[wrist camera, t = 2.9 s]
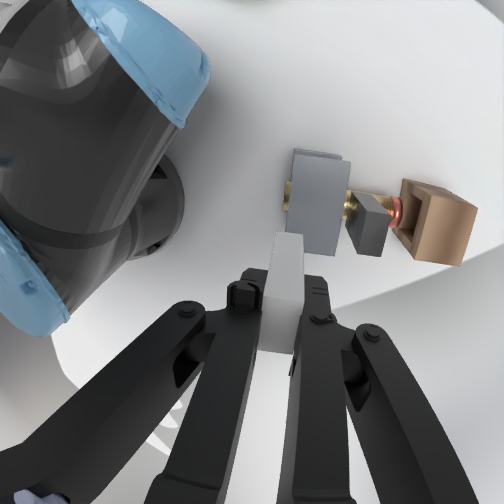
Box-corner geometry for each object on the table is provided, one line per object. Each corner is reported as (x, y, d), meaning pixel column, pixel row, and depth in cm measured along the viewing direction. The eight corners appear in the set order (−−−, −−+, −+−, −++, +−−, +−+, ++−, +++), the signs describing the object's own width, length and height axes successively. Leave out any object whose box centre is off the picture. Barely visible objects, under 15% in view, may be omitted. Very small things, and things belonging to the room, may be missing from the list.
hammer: (283, 207, 31) (277, 243, 22) (286, 175, 29) (282, 198, 20) (389, 223, 29) (420, 262, 21) (395, 193, 28) (432, 222, 19)
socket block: (392, 230, 32) (414, 259, 25) (403, 178, 29) (431, 195, 22) (432, 237, 31) (459, 266, 24) (444, 188, 29) (477, 207, 21)
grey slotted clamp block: (285, 225, 34) (283, 249, 28) (294, 148, 30) (294, 154, 24) (327, 230, 33) (334, 256, 27) (339, 155, 29) (351, 163, 23)
